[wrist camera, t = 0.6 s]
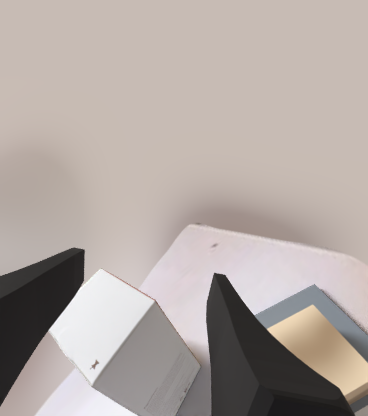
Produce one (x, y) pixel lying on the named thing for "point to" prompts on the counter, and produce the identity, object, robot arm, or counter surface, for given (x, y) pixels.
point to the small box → (126, 346)
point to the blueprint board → (364, 344)
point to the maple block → (324, 351)
